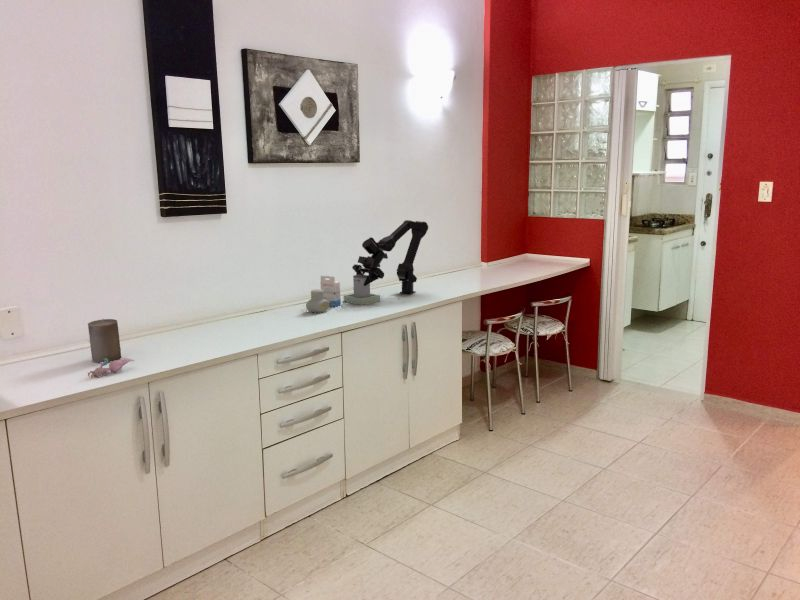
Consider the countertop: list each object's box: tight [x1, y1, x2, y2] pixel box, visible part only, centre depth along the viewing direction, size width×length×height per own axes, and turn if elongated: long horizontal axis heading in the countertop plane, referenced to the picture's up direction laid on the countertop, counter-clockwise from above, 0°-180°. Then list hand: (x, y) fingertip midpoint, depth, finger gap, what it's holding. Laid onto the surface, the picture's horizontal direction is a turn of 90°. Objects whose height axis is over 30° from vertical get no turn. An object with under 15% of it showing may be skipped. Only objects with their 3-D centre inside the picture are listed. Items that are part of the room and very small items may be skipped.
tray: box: [342, 292, 381, 306], centre depth 333 cm, size 13×13×3 cm
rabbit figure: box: [87, 358, 135, 378], centre depth 221 cm, size 6×6×15 cm
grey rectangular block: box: [352, 274, 371, 298], centre depth 331 cm, size 6×7×11 cm
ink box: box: [320, 275, 342, 307], centre depth 323 cm, size 8×5×15 cm, turn 62°
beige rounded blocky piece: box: [305, 289, 330, 314], centre depth 310 cm, size 11×8×10 cm
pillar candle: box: [87, 318, 122, 363], centre depth 235 cm, size 10×10×15 cm
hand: (359, 284), depth 330 cm, fingers closed on grey rectangular block, 6 cm apart
